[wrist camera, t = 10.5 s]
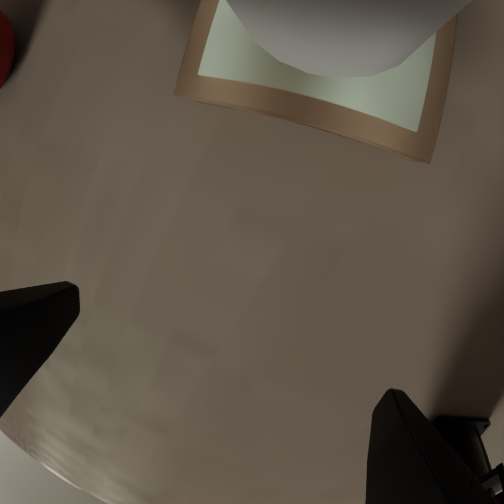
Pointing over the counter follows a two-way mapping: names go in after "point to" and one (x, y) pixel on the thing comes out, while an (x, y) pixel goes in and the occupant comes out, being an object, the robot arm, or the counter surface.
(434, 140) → the plinth
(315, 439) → the counter surface
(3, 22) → the apple
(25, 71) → the counter surface
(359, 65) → the can
